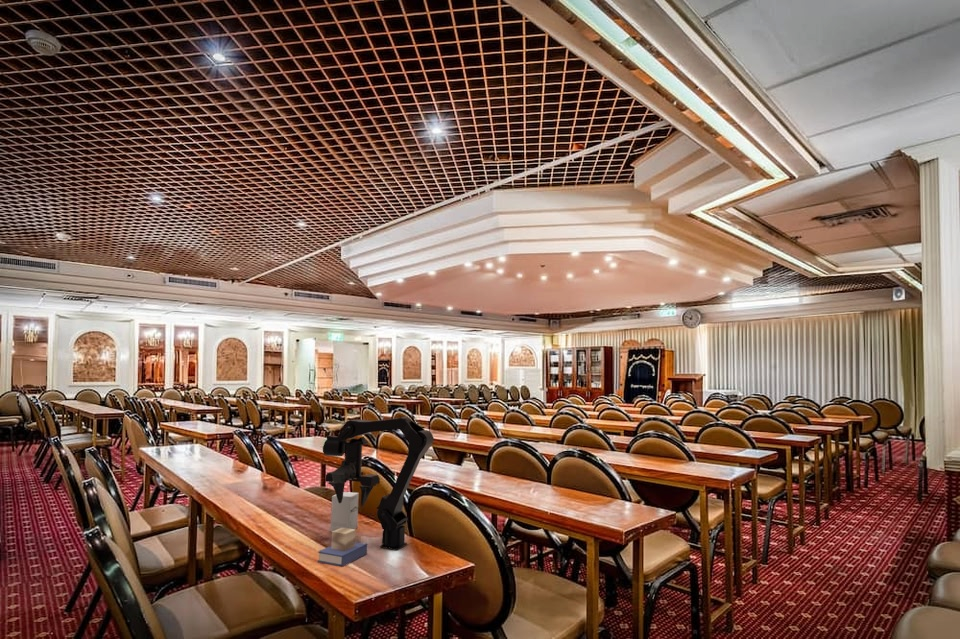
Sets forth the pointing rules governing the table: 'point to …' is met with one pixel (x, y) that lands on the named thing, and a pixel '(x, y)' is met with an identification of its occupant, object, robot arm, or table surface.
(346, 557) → the navy book
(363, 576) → the table surface
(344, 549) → the beech block
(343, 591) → the table surface
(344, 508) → the supplement box
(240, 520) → the table surface
